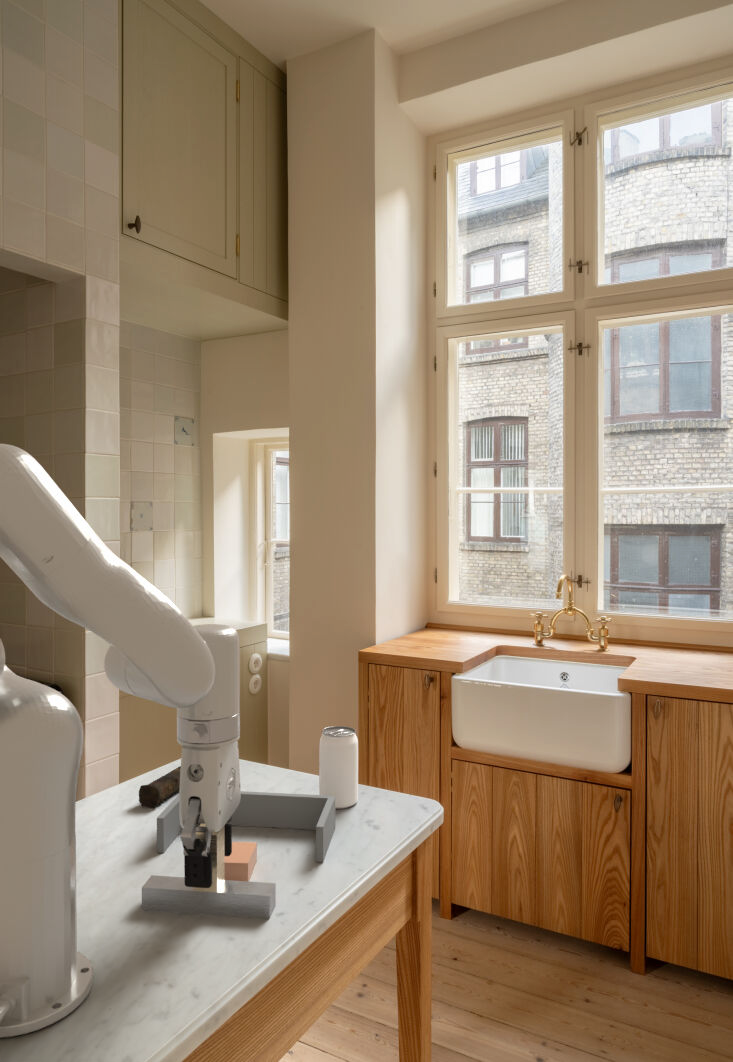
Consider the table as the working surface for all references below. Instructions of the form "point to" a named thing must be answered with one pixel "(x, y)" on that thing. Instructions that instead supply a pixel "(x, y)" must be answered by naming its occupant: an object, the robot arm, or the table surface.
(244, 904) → the scraper
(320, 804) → the box
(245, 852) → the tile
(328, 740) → the can
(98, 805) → the table surface
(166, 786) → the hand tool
